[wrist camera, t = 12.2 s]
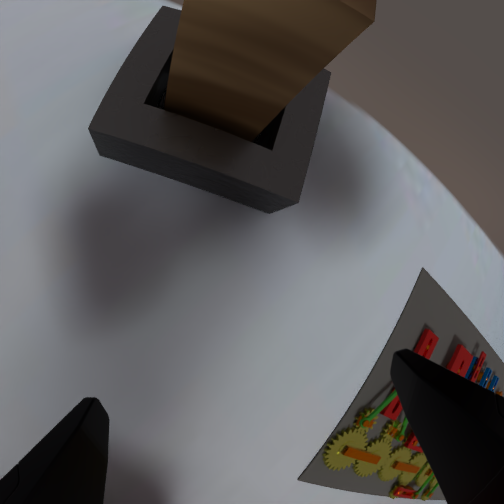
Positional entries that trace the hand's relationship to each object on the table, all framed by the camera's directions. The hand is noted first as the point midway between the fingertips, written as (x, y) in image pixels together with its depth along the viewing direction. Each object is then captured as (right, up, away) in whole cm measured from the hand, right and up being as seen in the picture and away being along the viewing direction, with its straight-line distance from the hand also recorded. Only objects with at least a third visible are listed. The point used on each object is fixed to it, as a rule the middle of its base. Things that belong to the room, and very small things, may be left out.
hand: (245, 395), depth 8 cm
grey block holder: (-2, +12, +10) cm, 16 cm away
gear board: (+26, -18, +19) cm, 37 cm away
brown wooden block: (-2, +12, +10) cm, 16 cm away
